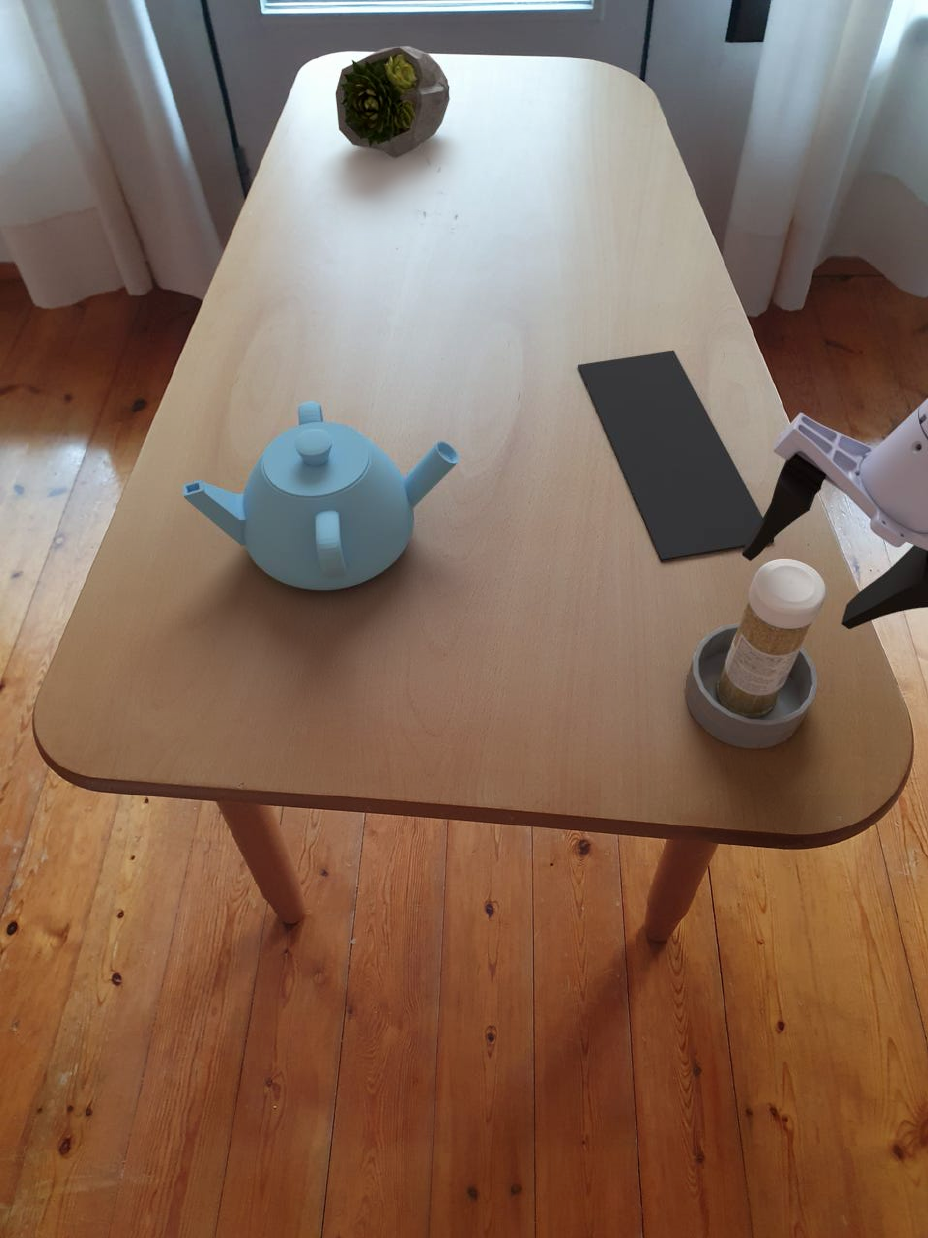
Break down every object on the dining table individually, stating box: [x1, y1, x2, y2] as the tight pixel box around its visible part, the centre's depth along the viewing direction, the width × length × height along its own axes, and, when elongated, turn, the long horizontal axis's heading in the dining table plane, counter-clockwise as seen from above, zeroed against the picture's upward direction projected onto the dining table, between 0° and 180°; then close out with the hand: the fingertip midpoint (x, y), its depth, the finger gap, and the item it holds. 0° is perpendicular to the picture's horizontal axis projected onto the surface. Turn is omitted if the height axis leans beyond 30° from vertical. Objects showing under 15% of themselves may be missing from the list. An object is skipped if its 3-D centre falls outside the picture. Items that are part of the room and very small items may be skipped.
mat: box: [577, 350, 775, 562], centre depth 87 cm, size 26×10×1 cm, turn 11°
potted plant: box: [335, 45, 451, 159], centre depth 116 cm, size 12×13×15 cm
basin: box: [684, 622, 819, 750], centre depth 70 cm, size 9×9×4 cm
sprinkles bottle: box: [716, 558, 827, 718], centre depth 65 cm, size 5×5×13 cm
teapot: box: [181, 400, 460, 591], centre depth 77 cm, size 15×17×11 cm
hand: (798, 583), depth 61 cm, fingers open, 7 cm apart
